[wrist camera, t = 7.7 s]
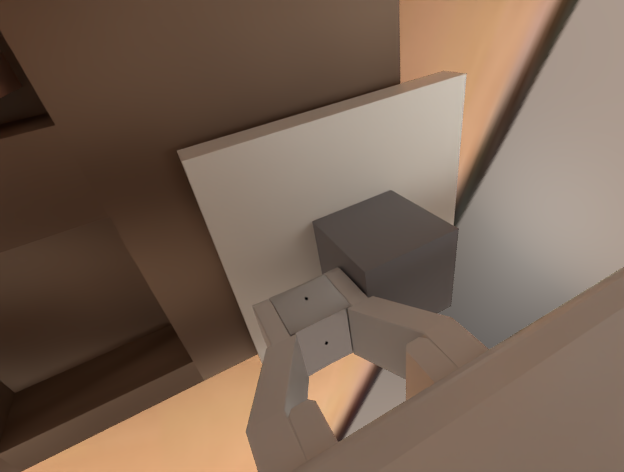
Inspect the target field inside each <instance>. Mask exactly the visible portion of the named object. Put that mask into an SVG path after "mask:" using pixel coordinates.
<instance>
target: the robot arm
mask: <svg viewBox="0 0 624 472" xmlns="http://www.w3.org/2000/svg"><path fill="white" fill-rule="evenodd" d="M252 308H253V311H254V314H255V317H256V319H257V322H258V325H259V328H260V331H261V333H262V336H263V338H264V341H265V343H266V346H267V348H266V352H265V356H264V360H263V364H262V368H261V372H260V376H259V380H258V384H257V388H256V392H255V396H254V401H253V405H252V409H251V413H250V417H249V421H248V425H247V429H246V434H247V437H248V440H249V444H250V447H251V450H252V453H253V457H254V460H255V463H256V466H257V470H258V472H624V267H623V268H621V269H619V270H618V271H616V272H614V273H613V274H611V275H610V276H608V277H606V278H605V279H603V280H601V281H600V282H598V283H597V284H595V285H593V286H592V287H590V288H588V289H587V290H585V291H584V292H582V293H580V294H579V295H577V296H576V297H574V298H572V299H571V300H569V301H567V302H566V303H564V304H562V305H561V306H559V307H558V308H556V309H554V310H553V311H551V312H549V313H548V314H546V315H545V316H543V317H541V318H540V319H538V320H536V321H535V322H533V323H531V324H530V325H528V326H527V327H525V328H523V329H522V330H520V331H519V332H517V333H515V334H514V335H512V336H510V337H509V338H507V339H506V340H504V341H502V342H501V343H499V344H497V345H496V346H494V347H492V348H491V349H488V348H487V347H486V346H485V345H483V344H482V343H481V342H480V341H479V340H478V339H476V338H475V337H474V336H473V335H472V334H471V333H469V332H468V331H467V330H466V329H465V328H464V327H462V326H461V325H460V324H459V323H457V322H456V321H455V320H454V319H453V318H451V317H448V316H444V315H440V314H437V313H433V312H429V311H426V310H422V309H419V308H415V307H411V306H408V305H404V304H400V303H397V302H393V301H389V300H386V299H382V298H379V297H375V296H371V297H369V298H368V297H367V296H366V295H365V294H364V293H363V292H362V291H361V290H360V289H359V288H358V286H357V285H356V284H355V283H354V282H353V281H352V280H351V279H350V278H349V277H348V276H347V275H346V274H345V273H344V272H343V271H342V270H341V269H340V268H338V267H337V268H335V269H333V270H330V271H328V272H326V273H324V274H323V275H320V276H318V277H316V278H314V279H312V280H309V281H307V282H305V283H303V284H301V285H299V286H296V287H294V288H292V289H289V290H287V291H285V292H282V293H280V294H278V295H275V296H273V297H270V298H269V299H267V300H264V301H262V302H259V303H257V304H255V305H252ZM353 352H354V354H356V355H358V356H360V357H362V358H364V359H366V360H368V361H370V362H372V363H374V364H376V365H378V366H380V367H382V368H384V369H386V370H388V371H390V372H392V373H394V374H396V375H398V376H400V377H402V378H404V379H406V401H405V402H403V403H402V404H400V405H398V406H397V407H395V408H393V409H392V410H390V411H388V412H387V413H385V414H384V415H382V416H380V417H379V418H377V419H376V420H374V421H372V422H371V423H369V424H367V425H366V426H364V427H363V428H361V429H359V430H358V431H356V432H354V433H353V434H351V435H349V436H348V437H346V438H345V439H343V440H341V441H340V442H338V441H337V439H336V438H335V436H334V434H333V432H332V430H331V428H330V427H329V425H328V423H327V421H326V419H325V417H324V416H323V414H322V412H321V410H320V408H319V407H318V405H317V403H316V401H313V400H308V399H307V398H308V384H309V377H308V376H310V375H312V374H314V373H315V372H317V371H319V370H321V369H322V368H324V367H326V366H328V365H329V364H331V363H333V362H335V361H337V360H339V359H341V358H343V357H345V356H347V355H349V354H351V353H353Z"/></svg>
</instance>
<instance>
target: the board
mask: <svg viewBox="0 0 624 472" xmlns="http://www.w3.org/2000/svg"><path fill="white" fill-rule="evenodd" d="M0 50H1V51H2V53H3V55H4V56H5V58H6V60H7V61H8V63H9V65H10V66H11V68H12V70H13V71H14V73H15V75H16V76H17V78H18V80H19V81H20V83H21V85H22V86H23V87H21V88H19V89H17V90H15V91H13V92H11V93H9V94H7V95H5V96H4V97H2V98H0V472H21V471H23V470H25V469H27V468H29V467H31V466H33V465H35V464H37V463H39V462H42V461H44V460H46V459H48V458H50V457H52V456H54V455H56V454H58V453H60V452H62V451H64V450H66V449H68V448H70V447H72V446H74V445H76V444H78V443H80V442H82V441H84V440H86V439H88V438H90V437H92V436H94V435H96V434H98V433H100V432H102V431H104V430H106V429H108V428H110V427H112V426H114V425H116V424H118V423H120V422H122V421H124V420H126V419H128V418H130V417H132V416H134V415H136V414H138V413H140V412H142V411H144V410H146V409H148V408H150V407H152V406H154V405H156V404H158V403H160V402H162V401H164V400H166V399H168V398H170V397H172V396H174V395H176V394H178V393H180V392H182V391H184V390H186V389H188V388H190V387H192V386H194V385H196V384H198V383H200V382H202V381H204V380H206V379H208V378H210V377H212V376H214V375H216V374H218V373H220V372H222V371H224V370H227V369H229V368H231V367H233V366H235V365H237V364H239V363H241V362H243V361H245V360H247V359H249V358H251V357H253V356H255V355H257V354H258V353H257V350H256V348H255V345H254V343H253V340H252V338H251V335H250V333H249V330H248V328H247V325H246V323H245V320H244V318H243V315H242V313H241V310H240V308H239V305H238V303H237V300H236V298H235V295H234V293H233V290H232V288H231V285H230V283H229V280H228V278H227V275H226V273H225V270H224V268H223V265H222V263H221V260H220V258H219V255H218V253H217V250H216V248H215V245H214V243H213V240H212V238H211V235H210V233H209V230H208V228H207V225H206V223H205V220H204V218H203V215H202V213H201V210H200V208H199V205H198V203H197V200H196V198H195V195H194V193H193V190H192V188H191V185H190V183H189V180H188V178H187V175H186V173H185V170H184V168H183V165H182V163H181V160H180V158H179V155H178V153H177V150H180V149H184V148H187V147H190V146H194V145H197V144H200V143H204V142H207V141H210V140H214V139H217V138H220V137H224V136H227V135H231V134H234V133H237V132H241V131H244V130H247V129H251V128H254V127H257V126H261V125H264V124H267V123H271V122H274V121H277V120H281V119H284V118H287V117H291V116H294V115H297V114H301V113H304V112H307V111H311V110H314V109H317V108H321V107H324V106H328V105H331V104H334V103H338V102H341V101H344V100H348V99H351V98H354V97H358V96H361V95H364V94H368V93H371V92H374V91H378V90H381V89H384V88H388V87H391V86H394V85H398V84H400V28H399V0H0Z"/></svg>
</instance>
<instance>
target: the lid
mask: <svg viewBox="0 0 624 472" xmlns="http://www.w3.org/2000/svg"><path fill="white" fill-rule="evenodd" d="M466 74H467V73H458V72H449V71H441V72H438V73H435V74H431V75H428V76H425V77H421V78H418V79H414V80H411V81H408V82H404V83H401V84H398V85H394V86H391V87H388V88H384V89H381V90H378V91H374V92H371V93H368V94H364V95H361V96H358V97H354V98H351V99H348V100H344V101H341V102H338V103H334V104H331V105H328V106H324V107H321V108H317V109H314V110H311V111H307V112H304V113H301V114H297V115H294V116H291V117H287V118H284V119H281V120H277V121H274V122H271V123H267V124H264V125H261V126H257V127H254V128H251V129H247V130H244V131H241V132H237V133H234V134H231V135H227V136H224V137H220V138H217V139H214V140H210V141H207V142H204V143H200V144H197V145H194V146H190V147H187V148H184V149H180V150H177V153H178V155H179V158H180V160H181V163H182V165H183V168H184V170H185V173H186V175H187V178H188V180H189V183H190V185H191V188H192V190H193V193H194V195H195V198H196V200H197V203H198V205H199V208H200V210H201V213H202V215H203V218H204V220H205V223H206V225H207V228H208V230H209V233H210V235H211V238H212V240H213V243H214V245H215V248H216V250H217V253H218V255H219V258H220V260H221V263H222V265H223V268H224V270H225V273H226V275H227V278H228V280H229V283H230V285H231V288H232V290H233V293H234V295H235V298H236V300H237V303H238V305H239V308H240V310H241V313H242V315H243V318H244V320H245V323H246V325H247V328H248V330H249V333H250V335H251V338H252V340H253V343H254V345H255V348H256V350H257V353H258V355H259V358H260V360H261V363H262V364H263V360H264V356H265V352H266V348H267V346H266V343H265V341H264V338H263V336H262V333H261V331H260V328H259V325H258V322H257V319H256V317H255V314H254V311H253V308H252V305H255V304H257V303H259V302H262V301H264V300H267V299H269V298H270V297H273V296H275V295H278V294H280V293H282V292H285V291H287V290H289V289H292V288H294V287H296V286H299V285H301V284H303V283H305V282H307V281H309V280H312V279H314V278H316V277H318V276H320V275H323V274H324V273H326V272H328V271H330V270H333V269H335V268H337V267H338V268H340V269H341V270H342V271H343V272H344V273H345V274H346V275H347V276H348V277H349V278H350V279H351V280H352V281H353V282H354V283H355V284H356V285H357V286H358V288H359V289H360V290H361V291H362V292H363V293H364V294H365V295H366V296H367V297H368V298H369V297H371V296H375V297H379V298H382V299H386V300H389V301H393V302H397V303H400V304H404V305H408V306H411V307H415V308H419V309H422V310H426V311H429V312H433V313H439V312H441V311H443V310H445V309H446V308H448V307H450V306H451V302H452V291H453V280H454V271H455V261H456V250H457V240H458V230H459V229H458V228H457V227H455V226H453V225H454V213H455V202H456V190H457V178H458V167H459V155H460V144H461V132H462V121H463V109H464V97H465V86H466Z"/></svg>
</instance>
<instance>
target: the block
mask: <svg viewBox="0 0 624 472" xmlns="http://www.w3.org/2000/svg"><path fill="white" fill-rule="evenodd" d="M21 87H23V86H22V85H21V83H20V81H19V80H18V78H17V76H16V75H15V73H14V71H13V70H12V68H11V66H10V65H9V63H8V61H7V60H6V58H5V56H4V55H3V53H2V51H1V50H0V98H2V97H4V96H5V95H7V94H9V93H11V92H13V91H15V90H17V89H19V88H21Z"/></svg>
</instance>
